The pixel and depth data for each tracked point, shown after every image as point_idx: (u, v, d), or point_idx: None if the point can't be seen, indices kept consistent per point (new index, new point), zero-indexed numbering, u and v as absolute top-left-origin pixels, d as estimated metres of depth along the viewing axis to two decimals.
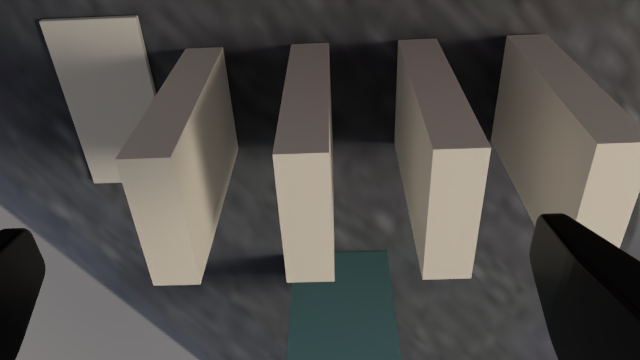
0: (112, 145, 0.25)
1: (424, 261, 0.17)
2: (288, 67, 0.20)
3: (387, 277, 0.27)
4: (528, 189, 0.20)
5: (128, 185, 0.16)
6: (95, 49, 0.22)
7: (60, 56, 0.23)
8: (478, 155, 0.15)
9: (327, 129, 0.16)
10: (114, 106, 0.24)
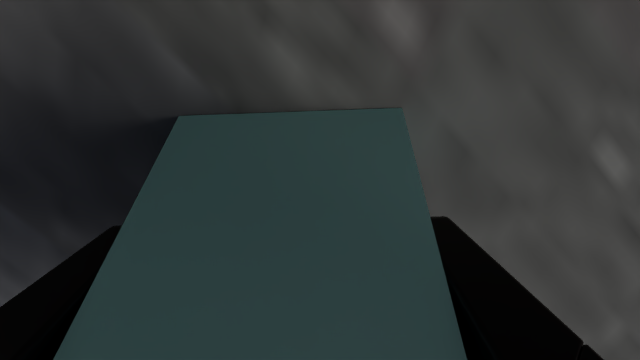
0: None
1: None
2: None
3: (406, 155, 0.10)
4: None
5: None
6: None
7: None
8: None
9: None
10: None
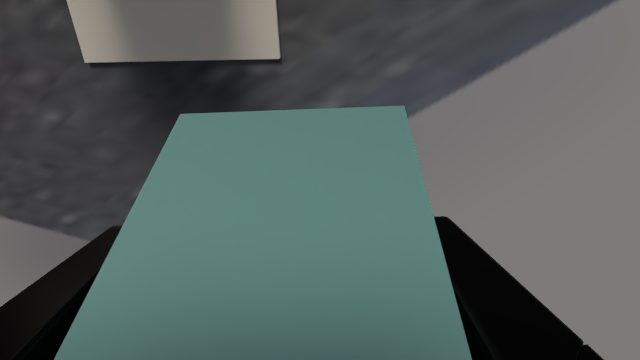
0: (223, 23, 0.21)
1: None
2: None
3: (408, 152, 0.10)
4: None
5: None
6: (102, 13, 0.21)
7: (119, 52, 0.21)
8: None
9: None
10: (169, 8, 0.20)
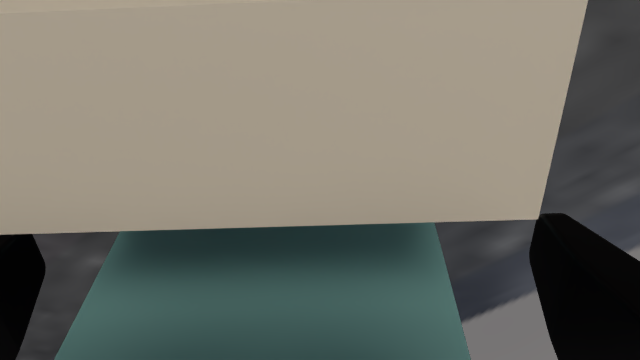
0: None
1: None
2: None
3: None
4: None
5: None
6: None
7: None
8: None
9: None
10: None
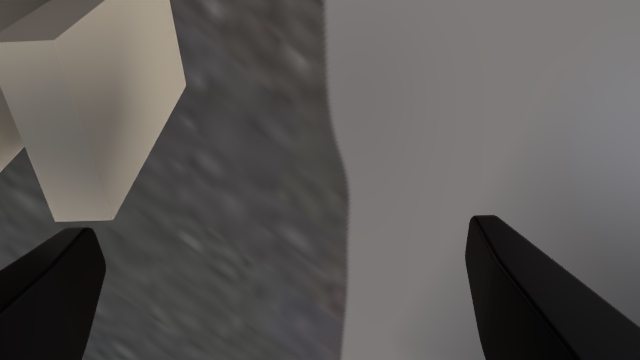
0: None
1: None
2: None
3: None
4: None
5: None
6: None
7: None
8: None
9: None
10: None
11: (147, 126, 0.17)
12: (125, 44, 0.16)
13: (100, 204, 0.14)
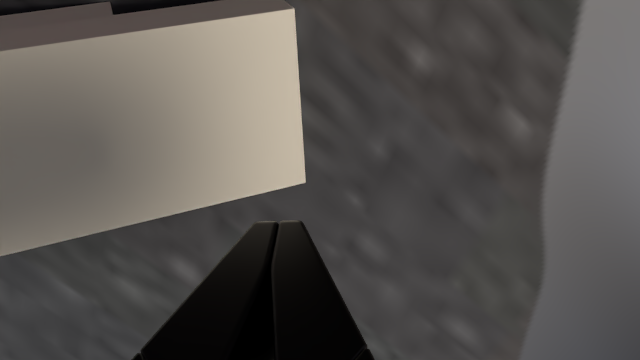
0: None
1: None
2: None
3: None
4: None
5: None
6: None
7: None
8: None
9: None
10: None
11: (118, 202, 0.14)
12: (81, 104, 0.12)
13: None
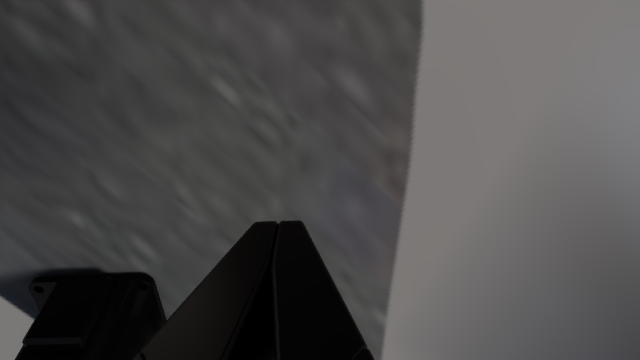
0: None
1: None
2: None
3: None
4: None
5: None
6: None
7: None
8: None
9: None
10: None
11: None
12: None
13: None
